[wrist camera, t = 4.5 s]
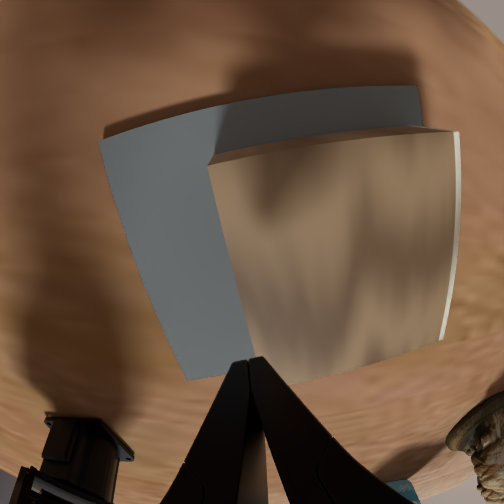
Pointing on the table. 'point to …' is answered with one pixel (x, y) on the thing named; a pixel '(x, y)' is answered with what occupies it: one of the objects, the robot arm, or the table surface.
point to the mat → (204, 205)
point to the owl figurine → (484, 445)
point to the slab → (342, 244)
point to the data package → (405, 489)
